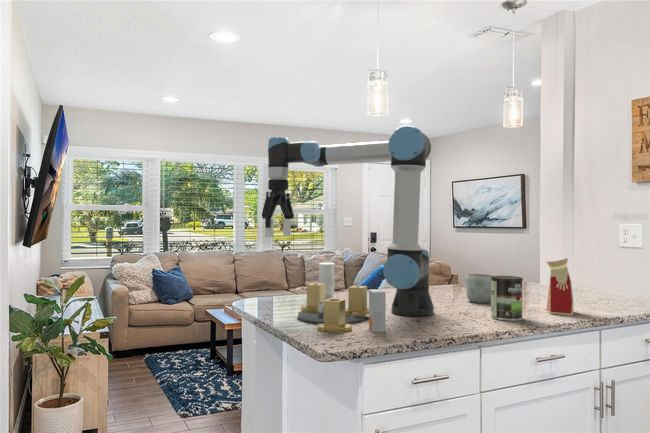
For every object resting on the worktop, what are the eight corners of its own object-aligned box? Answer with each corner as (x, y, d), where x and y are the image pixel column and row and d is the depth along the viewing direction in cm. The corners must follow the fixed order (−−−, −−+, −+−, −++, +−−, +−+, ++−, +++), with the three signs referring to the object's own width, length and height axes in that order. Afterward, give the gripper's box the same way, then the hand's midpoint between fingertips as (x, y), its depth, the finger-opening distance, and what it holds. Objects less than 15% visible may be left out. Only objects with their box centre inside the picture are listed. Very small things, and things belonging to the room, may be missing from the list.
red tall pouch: (573, 311, 191) (573, 257, 191) (573, 316, 182) (573, 259, 182) (546, 309, 194) (546, 256, 194) (545, 313, 186) (545, 258, 186)
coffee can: (529, 319, 175) (529, 277, 175) (507, 322, 171) (507, 279, 171) (505, 314, 184) (505, 274, 184) (484, 317, 180) (484, 276, 180)
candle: (317, 299, 216) (317, 264, 216) (319, 297, 223) (320, 262, 223) (333, 300, 215) (333, 264, 215) (335, 297, 222) (335, 262, 222)
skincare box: (368, 327, 161) (368, 289, 161) (382, 327, 161) (382, 289, 161) (371, 332, 155) (372, 292, 155) (386, 331, 155) (386, 291, 155)
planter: (501, 304, 206) (501, 277, 206) (470, 304, 206) (470, 277, 206) (491, 299, 219) (491, 273, 219) (462, 299, 219) (462, 273, 219)
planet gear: (358, 327, 161) (358, 298, 161) (345, 334, 151) (345, 304, 151) (324, 324, 166) (324, 296, 166) (310, 331, 155) (310, 301, 155)
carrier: (379, 315, 182) (379, 283, 182) (357, 327, 161) (357, 291, 161) (309, 309, 193) (309, 279, 193) (280, 320, 172) (280, 287, 172)
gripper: (285, 181, 206) (285, 235, 205) (251, 177, 183) (251, 237, 183) (302, 181, 202) (302, 235, 202) (270, 176, 180) (270, 237, 179)
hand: (278, 236), depth 192 cm, fingers open, 13 cm apart
